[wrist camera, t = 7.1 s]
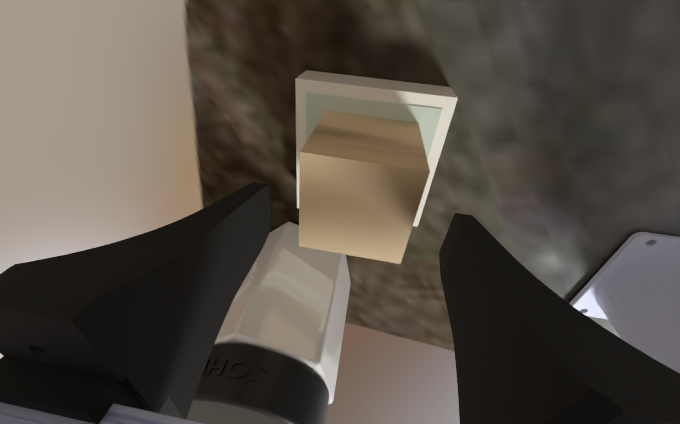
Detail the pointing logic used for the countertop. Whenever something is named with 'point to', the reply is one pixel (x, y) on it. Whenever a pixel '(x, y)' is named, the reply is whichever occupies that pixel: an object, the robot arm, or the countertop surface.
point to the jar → (278, 339)
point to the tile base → (375, 109)
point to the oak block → (361, 185)
